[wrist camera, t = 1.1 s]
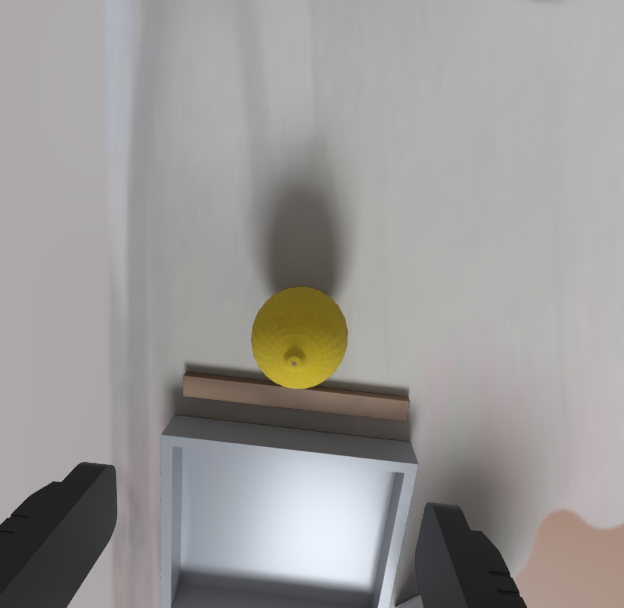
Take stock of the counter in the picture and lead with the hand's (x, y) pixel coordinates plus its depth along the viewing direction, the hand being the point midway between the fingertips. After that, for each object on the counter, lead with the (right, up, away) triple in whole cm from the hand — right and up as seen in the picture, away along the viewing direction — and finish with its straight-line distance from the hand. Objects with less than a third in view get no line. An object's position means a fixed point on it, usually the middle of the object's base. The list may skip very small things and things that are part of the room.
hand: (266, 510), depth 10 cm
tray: (-1, -12, +21) cm, 24 cm away
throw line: (0, -1, +18) cm, 18 cm away
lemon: (+1, +5, +17) cm, 17 cm away
